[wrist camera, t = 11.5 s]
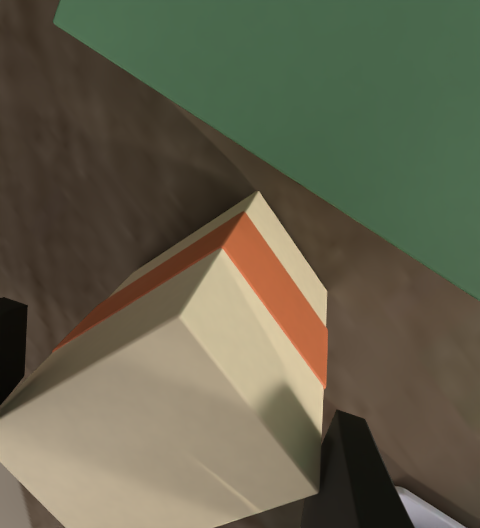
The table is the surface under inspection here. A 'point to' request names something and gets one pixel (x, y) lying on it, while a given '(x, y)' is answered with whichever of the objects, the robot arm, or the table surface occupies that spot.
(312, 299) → the juice carton
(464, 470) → the table surface
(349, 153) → the lunchbox
